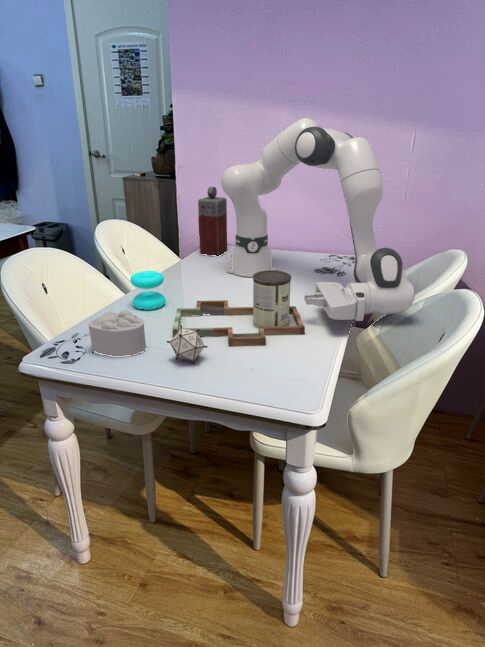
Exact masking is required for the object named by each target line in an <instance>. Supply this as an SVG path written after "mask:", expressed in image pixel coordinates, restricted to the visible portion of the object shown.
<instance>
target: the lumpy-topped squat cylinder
mask: <svg viewBox="0 0 485 647" xmlns="http://www.w3.org/2000/svg"><path fill="white" fill-rule="evenodd" d="M88 330H89V336H90V337H89V338H90V343H91V350H92V349H93V350H94V351H96V352H98V353H102V354H106V355H112V356H124V355H125V356H126V355H133V354H137V353H139V352H142V351H144V350H145V348H146V349H147V343H146V333H145V323H144V320H143V319H142V318H140V316H137V315H135V314H133V313H132V312H131V311H129V310H126V309H124V310H121V311H120V312H114V311H113V312H112V311H107V312H104V313H103V314H102V315H100V316H98V317H96V318H95V319H94V320H91V321H90V322H89V323H88ZM145 351H146V350H145ZM145 351H144V352H145Z"/></svg>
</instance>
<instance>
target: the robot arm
mask: <svg viewBox="0 0 485 647" xmlns="http://www.w3.org/2000/svg"><path fill="white" fill-rule="evenodd" d="M300 163H302V164H304V165H306V166H308V167H315V168H318V169H323V170H324V169H325V170H326V169H328V170H333V169H335V170H337V174H338V177H339V182H340V185H341V190H342V194H343V197H344V201H345V205H346V210H347V215H348V219H349V226H350V231H351V232H350V233H351V238H352V244H353V249H354V255H355V257H354V258H355V260H354V261H355V262H354V267H353V278H354V281H355V282H349V283H347V284H346V286H343V285H342V284H341V283H340V282H333V281H329V282H328V281H318V282H316V283H315V287H314V293H311V294H304V296H303V298H304V299H303V300H304V303H305V304H306V305H313V306H316V307H322V308H323V309H324V311H325V313H326V314H327V316H328V318H330V319H332V320H339V321H341V320H342V321H352V320H355V321H357V322H362V321H364V318H365V316H364V315H369V314H374V313H375V314H379V315H389V314H391V315H392V314H400V313H404V312H406V311H408V310H409V309H410V308H411V307H412V306H413V303H414V300H415V296H416V290H415V287H414V284H412V283H411V281H409V279H408V277H407V275H406V273H405V270H404V267H403V260H402V256H401V255H400V254H399V253H398V251H397V250H395V249H393V248H390V247H381V248H379V249H378V248H377V244H376V243H377V242H376V240H375V232H374V218H375V214H376V211H377V209H378V207H379V205H380V202H381V201H382V198H383V196H384V187H383V186H384V185H383V184H384V183H383V177H382V174H381V168H380V166H379V163H378V160H377V156H376V154H375V152H374V149H373V147H372V146H371V143H370V141H369V140H368V139H366V138H364V137H359V136H358V137H356V136H355V137H354V136H352V135H351V134H349V133H348V132H343V131H340V130H338V129H335V128H326V127H321V126H318V124H317V122H315V121H314V120H313V119H311V118H308V117H304V118H300V119H298V120H297V121H294V122H293V123H291V124H290V125H289V126H287V127H286V128H284V129H283V130H282V131H280V133H279V134H278V135H276V136H275V137H274V138H273V139H272V140H271V141H270V142H269V143H267V144H266V145H265V146H264V147H263V149H262V151H261V157H260V159H258V160H256V161H254V162H250V163H243V164H242V163H241V164H240V163H239V164H235V165H233V166H230V167H228V168H226V169H225V170H224V171H223V172H222V175H221V180H220V185H221V188H222V191H223V192H224V194H225V195H226V196H228V198H229V199H230V200H231V202H232V205H233V208H234V211H235V216H236V219H235V220H236V234H235V238H234V239H235V240H234V241H235V247H234V248H233V250H232V251H231V252H230V258H231V260H230V263H229V265H228V267H227V268H226V273H228V274H233V275H236V276H241V277H245V278H246V277H247V278H248V277H249V278H253V275H254V274H255V273H257V272H261V271H267V270H275V271H277V268H276V267H275V266H274V265H273V260H272V259H273V256H272V255H273V254H272V252H273V251H272V249H271V248H270V247H269V246H268V244H269V237H268V236H269V234H268V231H267V230H268V214H267V212H266V210H265V209H264V208H262V206H261V205H260V200H259V196H261V195H267V194H270V193H272V192H274V191H276V190H278V188H279V187H280V186H281V184H282V179H283V178H284V177H285V175H286V174H288V173H289V172H291V170H293V169H294V168H295V167H297V166H298V165H300Z"/></svg>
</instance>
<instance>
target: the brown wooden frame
mask: <svg viewBox="0 0 485 647" xmlns="http://www.w3.org/2000/svg"><path fill="white" fill-rule="evenodd" d="M200 313H201V314H202V315H203V314H206V315H207V314H210V315H213V316H224V315H226V316H253V306H249V307H248V306H246V307H245V306H243V307H241V306H240V307H238V306H237V307H229V301H228V300H225V299H224V300H222V299H221V300H197V301H196V306H195V307H194V308H193V307H192V308H191V307H189V308H188V307H186V308H176V313H175V317H174V322H173V326H172V338H173V337H174V336H175V335H176V334H177V333H178V331H179V330H180V329H181V328H180V327H179V326H180V325H181V321H180V320H182V317H192V316H191V315H200V316H201V314H200ZM289 315H292V318H293V320H294V323H295V325H289V326H270V327H259V329H258V332H255V333H254V332H253V333H252V332H251V333H250V332H249V333H248V332H247V333H246V332H245V333H234V331H233V327H232V326H231V327H228V326H227V327H226V326H225V327H192V328H187V327H185V328H184V327H183V328H184V329H189V330H194V331H197V330H198V329H200V331H198V333H199V335H200V336H214V337H227V340H228V344H229V345H228V347H250V346H251V347H252V346H253V347H254V346H255V347H257V346H262V347H263V346H266V344H267V343H266V342H267V338H266V336H284V335H285V336H292V335H293V336H295V335H296V336H298V335H305V330H306V329H305V328H306V326H305V324H304V322H303V320H302V317H301V316H300V314H299V311H298V309H297V306H296V305H295V306H293V305H292V306H291V305H290V307H289Z"/></svg>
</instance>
